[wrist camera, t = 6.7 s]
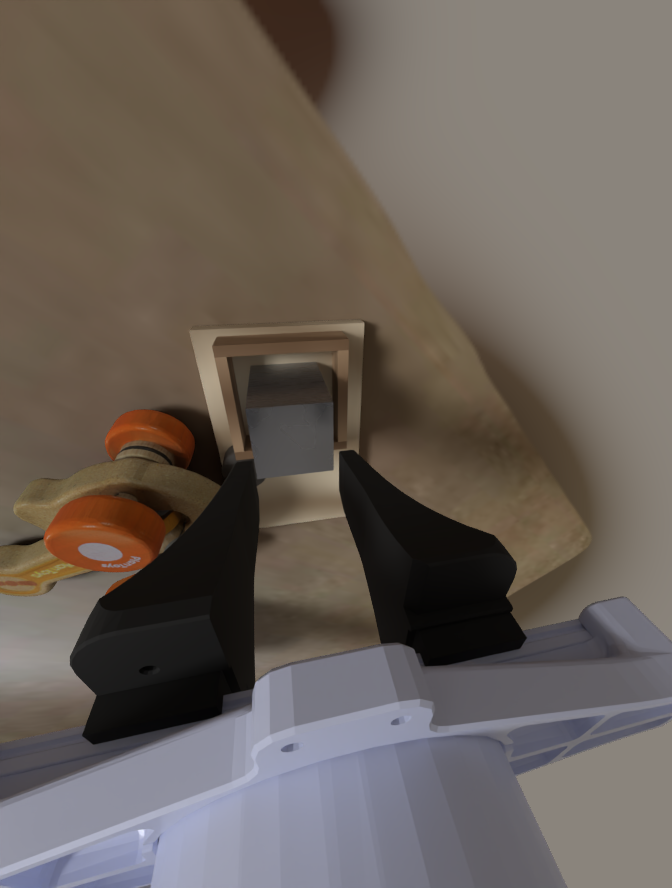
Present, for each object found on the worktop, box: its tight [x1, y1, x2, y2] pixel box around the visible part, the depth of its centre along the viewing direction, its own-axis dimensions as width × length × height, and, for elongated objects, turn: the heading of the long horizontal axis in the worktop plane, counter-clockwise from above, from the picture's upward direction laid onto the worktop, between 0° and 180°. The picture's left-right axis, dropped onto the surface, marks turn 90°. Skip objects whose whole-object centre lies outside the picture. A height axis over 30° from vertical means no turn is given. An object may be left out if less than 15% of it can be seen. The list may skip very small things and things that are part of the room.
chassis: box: [189, 319, 364, 528], centre depth 22 cm, size 16×10×3 cm, turn 1°
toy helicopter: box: [0, 409, 221, 596], centre depth 23 cm, size 8×21×14 cm
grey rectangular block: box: [245, 362, 334, 479], centre depth 18 cm, size 4×4×6 cm
